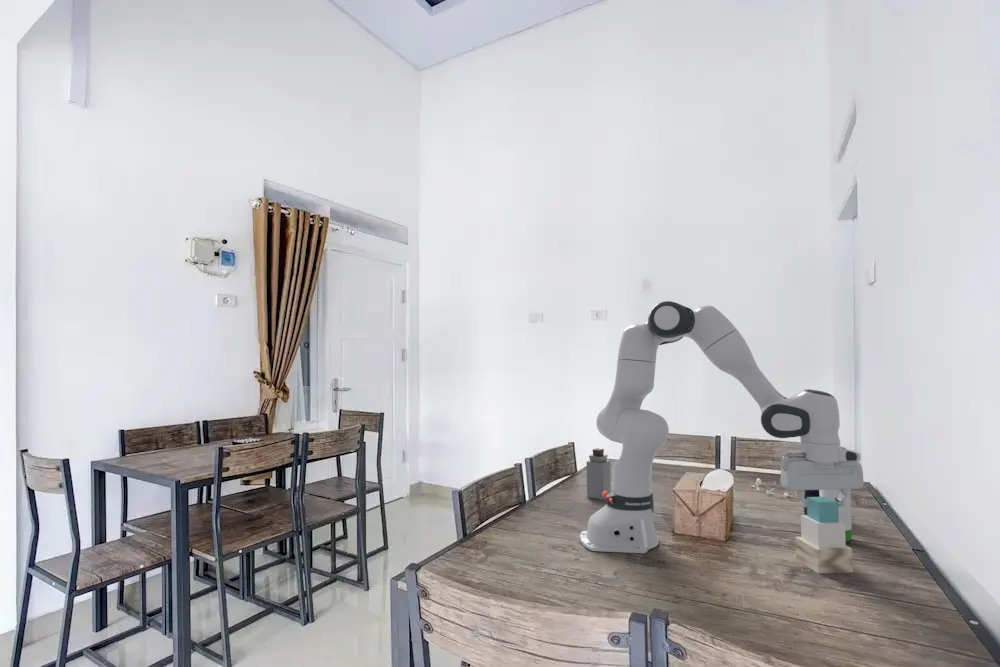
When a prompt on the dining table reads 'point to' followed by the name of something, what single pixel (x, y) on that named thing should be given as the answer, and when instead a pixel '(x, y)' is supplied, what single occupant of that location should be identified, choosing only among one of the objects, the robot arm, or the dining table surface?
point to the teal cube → (823, 509)
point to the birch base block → (824, 557)
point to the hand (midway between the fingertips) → (822, 506)
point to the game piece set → (759, 481)
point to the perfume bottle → (598, 474)
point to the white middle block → (823, 533)
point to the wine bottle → (841, 510)
